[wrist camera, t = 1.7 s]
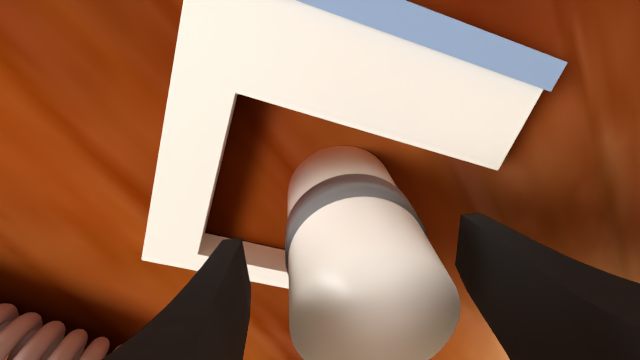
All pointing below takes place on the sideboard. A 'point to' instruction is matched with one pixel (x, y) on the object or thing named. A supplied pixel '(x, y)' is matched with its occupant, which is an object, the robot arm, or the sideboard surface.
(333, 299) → the banded white cylinder
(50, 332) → the coil
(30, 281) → the sideboard surface
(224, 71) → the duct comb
